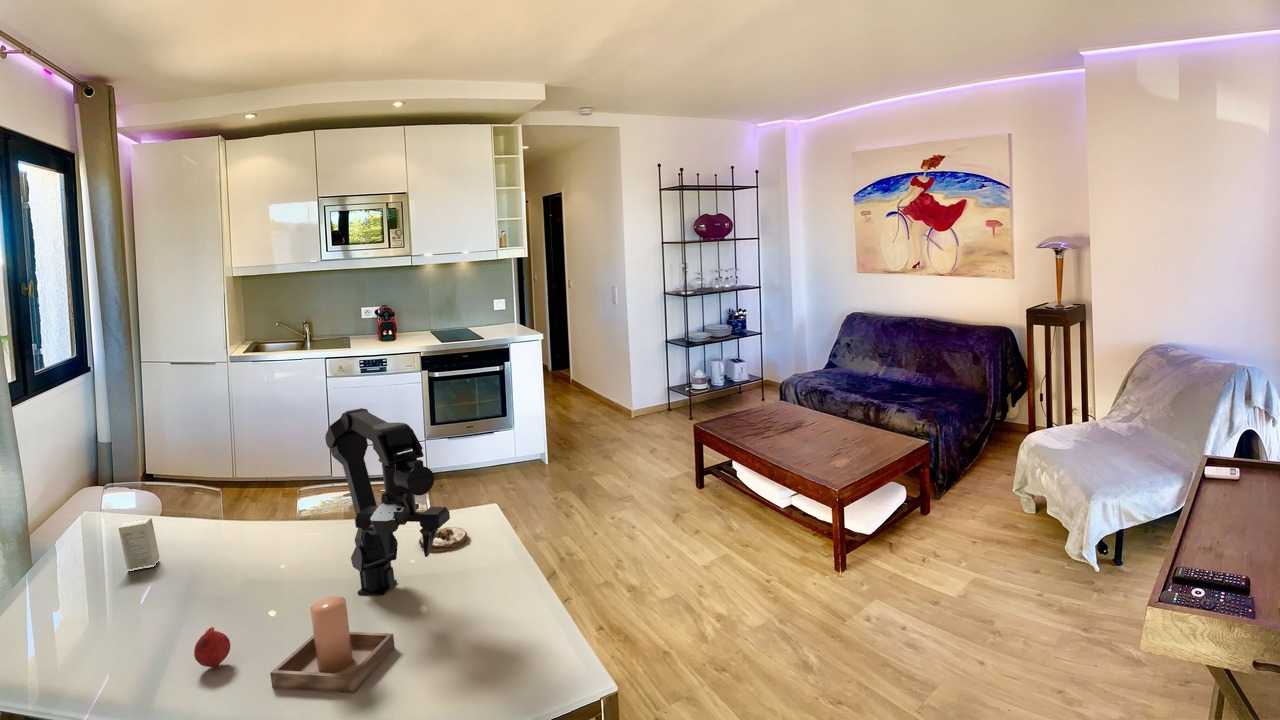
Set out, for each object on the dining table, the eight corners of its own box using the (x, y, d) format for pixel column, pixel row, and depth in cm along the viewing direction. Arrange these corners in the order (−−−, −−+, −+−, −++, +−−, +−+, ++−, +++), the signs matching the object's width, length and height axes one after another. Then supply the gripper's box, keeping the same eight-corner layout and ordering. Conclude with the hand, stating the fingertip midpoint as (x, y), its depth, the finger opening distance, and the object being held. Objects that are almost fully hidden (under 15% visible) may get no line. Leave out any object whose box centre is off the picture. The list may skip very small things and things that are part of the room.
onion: (215, 677, 127) (209, 637, 126) (189, 675, 128) (183, 635, 127) (239, 659, 133) (233, 620, 132) (214, 657, 134) (208, 619, 133)
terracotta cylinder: (312, 665, 128) (304, 605, 126) (344, 650, 133) (337, 593, 131) (326, 677, 124) (318, 616, 122) (358, 662, 129) (351, 603, 127)
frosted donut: (414, 538, 189) (412, 524, 188) (469, 529, 193) (468, 515, 193) (414, 560, 175) (413, 544, 174) (474, 549, 180) (473, 534, 179)
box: (272, 688, 123) (270, 672, 123) (320, 644, 137) (318, 630, 136) (353, 693, 120) (352, 677, 120) (394, 647, 134) (393, 633, 134)
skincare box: (160, 561, 181) (153, 517, 179) (155, 568, 177) (147, 523, 175) (132, 565, 179) (124, 521, 177) (125, 572, 175) (117, 527, 173)
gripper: (335, 498, 137) (344, 572, 139) (422, 499, 133) (430, 574, 136) (365, 479, 147) (374, 548, 150) (447, 480, 144) (454, 550, 147)
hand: (406, 555), depth 145 cm, fingers open, 9 cm apart
